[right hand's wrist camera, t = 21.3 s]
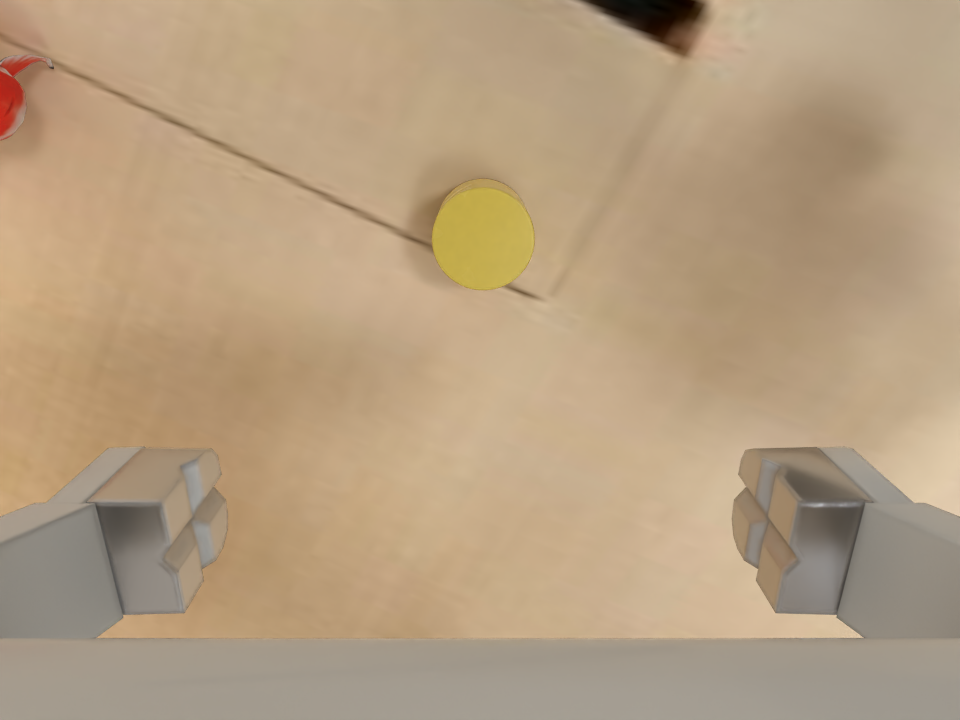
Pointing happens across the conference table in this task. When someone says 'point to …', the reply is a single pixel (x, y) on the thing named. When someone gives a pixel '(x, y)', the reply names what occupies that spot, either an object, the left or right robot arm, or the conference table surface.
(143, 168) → the conference table surface
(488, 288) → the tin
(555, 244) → the conference table surface
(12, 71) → the fish
